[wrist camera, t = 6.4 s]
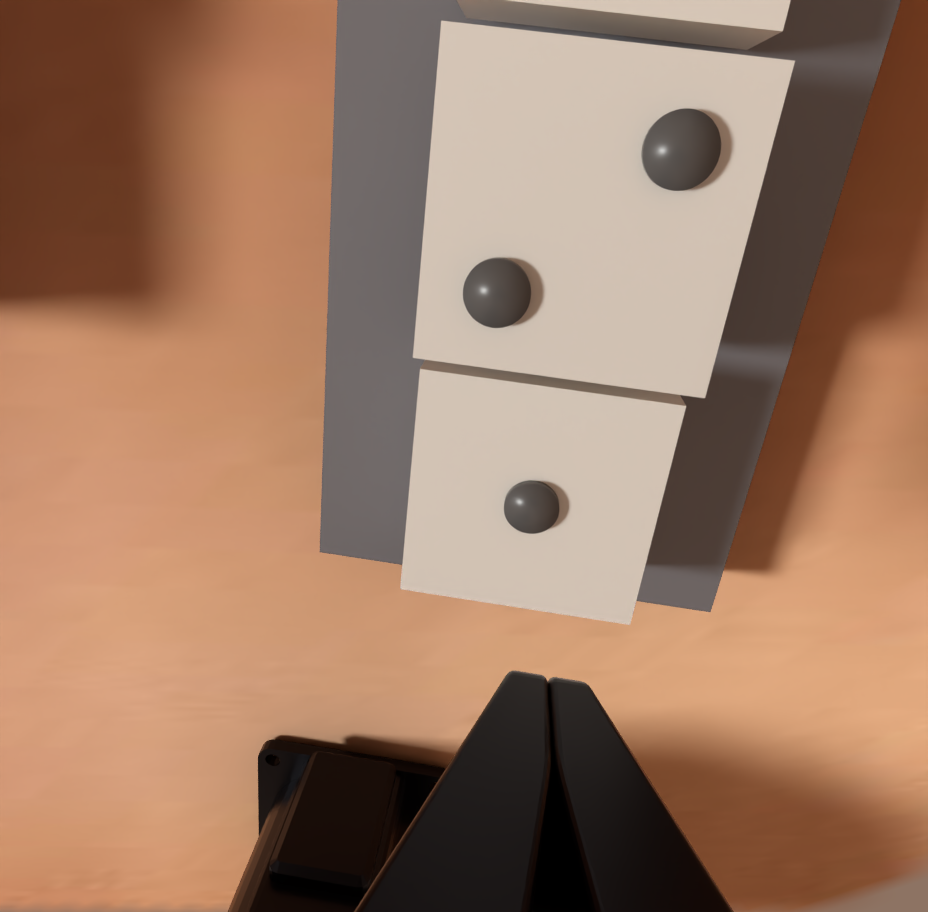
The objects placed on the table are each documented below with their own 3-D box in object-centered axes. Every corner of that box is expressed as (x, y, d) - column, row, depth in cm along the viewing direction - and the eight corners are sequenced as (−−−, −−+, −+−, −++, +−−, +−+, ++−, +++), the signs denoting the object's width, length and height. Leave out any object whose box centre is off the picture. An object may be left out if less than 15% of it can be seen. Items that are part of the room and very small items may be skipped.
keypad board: (694, 569, 19) (710, 612, 17) (340, 515, 20) (319, 551, 18) (951, -313, 12) (1024, -397, 10) (380, -362, 12) (352, -451, 11)
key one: (620, 573, 17) (630, 630, 15) (415, 542, 17) (398, 594, 15) (668, 375, 15) (688, 409, 13) (434, 342, 15) (418, 372, 13)
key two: (683, 366, 14) (707, 402, 12) (429, 331, 14) (410, 360, 12) (755, 75, 12) (800, 58, 10) (456, 41, 12) (439, 18, 10)
